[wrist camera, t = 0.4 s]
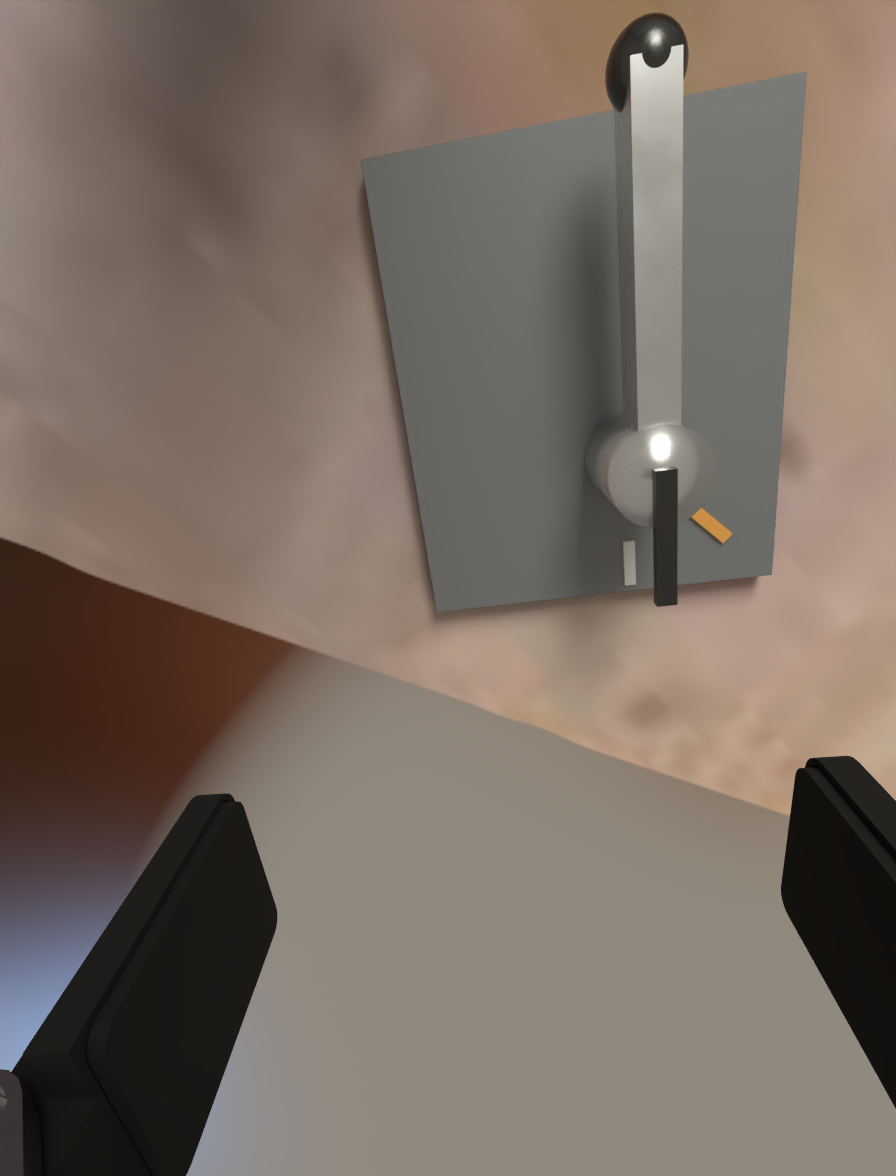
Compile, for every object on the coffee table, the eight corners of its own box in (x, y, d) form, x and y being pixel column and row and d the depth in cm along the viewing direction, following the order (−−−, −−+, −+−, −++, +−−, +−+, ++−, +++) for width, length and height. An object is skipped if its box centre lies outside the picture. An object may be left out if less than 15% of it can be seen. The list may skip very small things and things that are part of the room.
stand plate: (366, 169, 31) (360, 158, 29) (790, 85, 28) (809, 68, 27) (438, 603, 40) (436, 613, 38) (760, 566, 38) (773, 576, 36)
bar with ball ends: (564, 87, 27) (593, -8, 20) (670, 66, 27) (738, -40, 20) (591, 562, 36) (617, 611, 29) (670, 553, 36) (717, 600, 29)
